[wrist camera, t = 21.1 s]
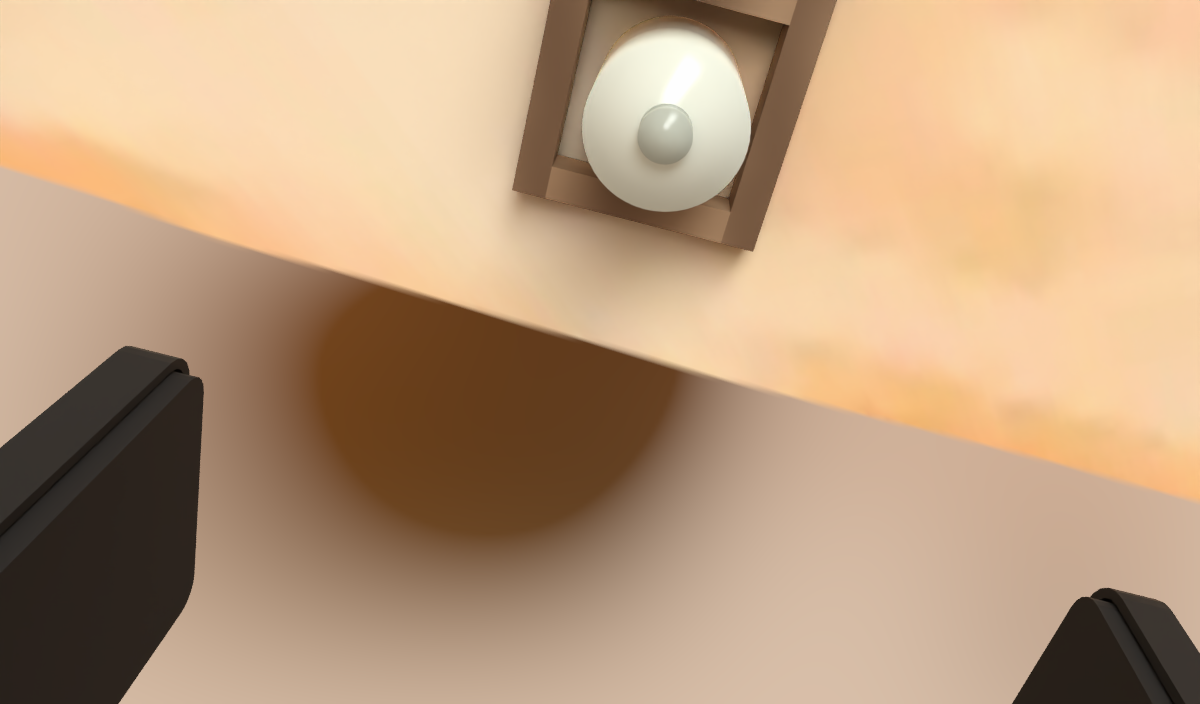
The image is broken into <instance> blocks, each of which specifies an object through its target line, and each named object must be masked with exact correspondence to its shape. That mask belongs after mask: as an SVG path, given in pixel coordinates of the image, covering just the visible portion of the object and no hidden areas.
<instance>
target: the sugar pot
mask: <svg viewBox="0 0 1200 704" xmlns="http://www.w3.org/2000/svg"><path fill="white" fill-rule="evenodd" d="M750 134H751V118H750V112H749V106H748V103H747V99H746V95H745V91H744V88H743V84H742V80H741V76H740V72H739V69H738V66H737V62H736V60H735V58H734V55H733V53H732V51H731V50H730V48H729V47H728V45H727V44H726V43H725V41H724V40H723V39H722V38H721V37H720V36H719V35H718V34H717V33H716V32H715V31H714V30H712V29H711V28H709V27H708V26H706V25H704V24H702V23H700V22H698V21H696V20H693V19H690V18H685V17H680V16H662V17H657V18H652V19H649V20H646V21H644V22H641V23H639V24H637V25H636V26H634V27H632V28H631V29H629V30H628V31H627V32H625V33H624V34H623V35H622V36H621V37H620V38H619V39H618V40H617V41H616V43H615V44H614V45H613V46H612V48H611V49H610V51H609V53H608V54H607V56H606V59H605V61H604V63H603V65H602V67H601V69H600V72H599V74H598V76H597V78H596V80H595V83H594V85H593V87H592V89H591V92H590V94H589V96H588V98H587V101H586V104H585V108H584V112H583V119H582V138H583V145H584V149H585V153H586V156H587V158H588V161H589V163H590V165H591V167H592V169H593V171H594V173H595V174H596V176H597V177H598V178H599V180H600V181H601V182H602V183H603V184H604V185H605V187H606V188H607V189H608V190H610V191H611V192H612V193H613V194H614V195H616V196H617V197H619V198H620V199H622V200H623V201H625V202H627V203H629V204H631V205H633V206H636V207H639V208H642V209H646V210H651V211H659V212H671V211H680V210H685V209H689V208H692V207H695V206H698V205H700V204H702V203H704V202H706V201H708V200H709V199H711V198H713V197H714V196H716V195H717V194H718V193H719V192H721V191H722V190H723V189H724V188H725V187H726V186H727V185H728V184H729V183H730V182H731V181H732V179H733V178H734V176H735V175H736V174H737V172H738V171H739V169H740V167H741V165H742V163H743V161H744V159H745V156H746V153H747V150H748V146H749V142H750Z"/></svg>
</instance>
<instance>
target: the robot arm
mask: <svg viewBox="0 0 1200 704" xmlns="http://www.w3.org/2000/svg"><path fill="white" fill-rule="evenodd" d="M203 395H204V391H203V383H202V380H201V379H200V378H199V377H195V376H190V375H189V368H188V365H187V362H186V361H184V360H183V359H181V358H177V357H173V356H169V355H165V354H161V353H157V352H153V351H149V350H145V349H140V348H136V347H132V346H125V347H123V348H121V349H119V350H118V351H117V352H115V353H114V354H113V355H112V356H111V357H109V358H108V359H107V360H106V361H105V362H103V363H102V364H101V365H100V366H98V367H97V368H96V369H95V370H94V371H92V372H91V373H90V374H89V375H88V376H87V377H85V378H84V379H83V380H82V381H80V382H79V383H78V384H77V385H76V386H75V387H73V388H72V389H71V390H70V391H68V392H67V393H66V394H65V395H63V396H62V397H61V398H60V399H59V400H57V401H56V402H55V403H54V404H53V405H51V406H50V407H49V408H48V409H47V410H45V411H44V412H43V413H42V414H41V415H39V416H38V417H37V418H36V419H35V420H33V421H32V422H31V423H30V424H29V425H27V426H26V427H25V428H24V429H23V430H21V431H20V432H19V433H18V434H17V435H15V436H14V437H13V438H12V439H10V440H9V441H8V442H7V443H6V444H5V445H3V446H2V447H1V448H0V704H118V703H119V702H120V701H121V699H122V698H123V696H124V695H125V693H126V692H127V690H128V689H129V688H130V686H131V684H132V683H133V682H134V680H135V679H136V677H137V676H138V674H139V673H140V672H141V670H142V669H143V667H144V666H145V664H146V663H147V661H148V660H149V658H150V657H151V656H152V654H153V653H154V651H155V650H156V648H157V647H158V646H159V644H160V642H161V641H162V640H163V638H164V637H165V635H166V634H167V632H168V631H169V630H170V628H171V627H172V625H173V623H174V622H175V621H176V619H177V618H178V616H179V615H180V613H181V612H182V610H183V608H184V607H185V605H186V602H187V600H188V598H189V595H190V592H191V589H192V585H193V580H194V570H195V569H194V568H195V549H196V529H197V511H198V492H199V473H200V471H199V470H200V453H201V434H202V433H201V432H202V414H203ZM1012 704H1200V653H1199V652H1198V650H1197V649H1196V647H1195V646H1194V644H1193V643H1192V641H1191V640H1190V638H1189V636H1188V635H1187V633H1186V632H1185V630H1184V629H1183V627H1182V626H1181V624H1180V623H1179V621H1178V620H1177V618H1176V617H1175V615H1174V614H1173V612H1172V611H1171V609H1170V608H1169V607H1168V606H1167V605H1166V604H1165V603H1163V602H1161V601H1158V600H1156V599H1151V598H1147V597H1144V596H1140V595H1135V594H1131V593H1127V592H1123V591H1119V590H1115V589H1111V588H1102V589H1099V590H1098V591H1096V592H1095V593H1093V594H1092V596H1091V597H1081V598H1080V599H1078V600H1077V601H1076V602H1075V603H1074V604H1073V605H1072V607H1071V608H1070V610H1069V612H1068V613H1067V615H1066V617H1065V618H1064V620H1063V621H1062V623H1061V625H1060V626H1059V628H1058V630H1057V631H1056V633H1055V635H1054V636H1053V638H1052V639H1051V641H1050V643H1049V645H1048V646H1047V648H1046V649H1045V651H1044V652H1043V654H1042V656H1041V657H1040V659H1039V661H1038V662H1037V664H1036V666H1035V667H1034V669H1033V671H1032V672H1031V674H1030V675H1029V677H1028V679H1027V680H1026V682H1025V684H1024V685H1023V687H1022V688H1021V690H1020V692H1019V693H1018V695H1017V697H1016V698H1015V700H1014V701H1013V703H1012Z"/></svg>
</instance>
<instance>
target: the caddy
mask: <svg viewBox="0 0 1200 704" xmlns="http://www.w3.org/2000/svg"><path fill="white" fill-rule="evenodd" d="M591 1H592V0H551V1H550V6H549V11H548V16H547V21H546V26H545V31H544V36H543V41H542V46H541V51H540V56H539V61H538V65H537V70H536V75H535V80H534V85H533V90H532V95H531V100H530V105H529V110H528V115H527V120H526V125H525V130H524V135H523V140H522V145H521V150H520V155H519V160H518V165H517V169H516V174H515V179H514V184H513V189H512V190H514V191H518V192H522V193H526V194H530V195H534V196H538V197H542V198H545V199H549V200H553V201H557V202H561V203H565V204H569V205H573V206H577V207H581V208H585V209H588V210H592V211H596V212H600V213H604V214H608V215H612V216H616V217H620V218H624V219H628V220H631V221H635V222H639V223H643V224H647V225H651V226H655V227H659V228H663V229H667V230H671V231H674V232H678V233H682V234H686V235H690V236H694V237H698V238H702V239H706V240H710V241H714V242H717V243H721V244H725V245H729V246H733V247H737V248H741V249H745V250H749V251H753V250H754V247H755V244H756V241H757V238H758V235H759V232H760V229H761V226H762V223H763V220H764V217H765V214H766V211H767V208H768V205H769V202H770V199H771V196H772V193H773V190H774V187H775V184H776V181H777V178H778V175H779V172H780V169H781V166H782V163H783V160H784V157H785V154H786V151H787V148H788V145H789V142H790V139H791V136H792V133H793V130H794V127H795V124H796V121H797V118H798V115H799V112H800V109H801V106H802V103H803V100H804V97H805V94H806V91H807V88H808V85H809V82H810V79H811V76H812V73H813V70H814V67H815V64H816V61H817V58H818V55H819V52H820V49H821V46H822V43H823V40H824V37H825V34H826V31H827V28H828V25H829V22H830V19H831V16H832V13H833V10H834V7H835V4H836V1H837V0H695V1H699V2H703V3H707V4H710V5H714V6H718V7H722V8H726V9H729V10H733V11H737V12H741V13H745V14H748V15H752V16H756V17H760V18H763V19H767V20H771V21H775V22H779V23H782V24H783V27H782V30H781V33H780V37H779V40H778V43H777V46H776V49H775V53H774V56H773V59H772V62H771V65H770V69H769V72H768V75H767V78H766V81H765V85H764V88H763V91H762V94H761V97H760V101H759V104H758V107H757V110H756V113H755V117H754V120H753V123H752V126H751V134H750V142H749V146H748V150H747V153H746V156H745V159H744V161H743V163H742V165H741V167H740V169H739V171H738V172H737V174H736V177H735V181H734V184H733V187H732V190H731V193H730V197H729V199H728V198H724V197H720V196H714V197H713V198H711V199H709V200H708V201H706V202H704V203H702V204H700V205H698V206H695V207H692V208H689V209H685V210H680V211H671V212H659V211H651V210H646V209H642V208H639V207H636V206H633V205H631V204H629V203H627V202H625V201H623V200H622V199H620V198H619V197H617V196H616V195H614V194H613V193H612V192H611V191H610V190H608V189H607V188H606V187H605V185H604V184H603V183H602V182H601V181H600V180H599V178H598V177H597V176H596V174H595V173H594V171H593V169H592V167H591V165H590V163H588V162H584V161H580V160H576V159H573V158H569V157H565V156H561V155H558V151H559V146H560V142H561V137H562V132H563V128H564V123H565V119H566V114H567V110H568V105H569V101H570V96H571V92H572V87H573V83H574V78H575V74H576V69H577V65H578V60H579V55H580V51H581V46H582V42H583V37H584V33H585V28H586V24H587V19H588V15H589V10H590V6H591Z"/></svg>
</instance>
